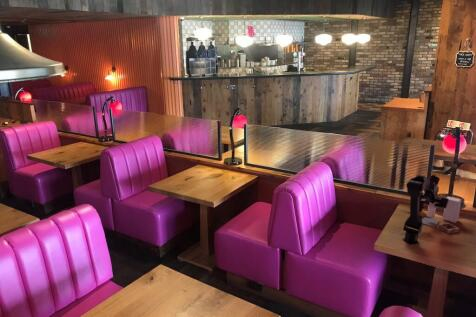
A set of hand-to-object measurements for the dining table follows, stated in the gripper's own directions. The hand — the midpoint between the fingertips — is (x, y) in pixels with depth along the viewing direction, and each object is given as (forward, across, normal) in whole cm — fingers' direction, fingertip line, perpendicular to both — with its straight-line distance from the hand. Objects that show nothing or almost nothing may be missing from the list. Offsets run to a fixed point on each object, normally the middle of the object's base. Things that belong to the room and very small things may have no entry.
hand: (432, 205), depth 253 cm
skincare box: (+17, -9, -1) cm, 19 cm away
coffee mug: (+17, +12, -1) cm, 21 cm away
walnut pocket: (+5, -12, +11) cm, 17 cm away
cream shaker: (+4, 0, +6) cm, 7 cm away
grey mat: (+7, 0, +9) cm, 11 cm away
